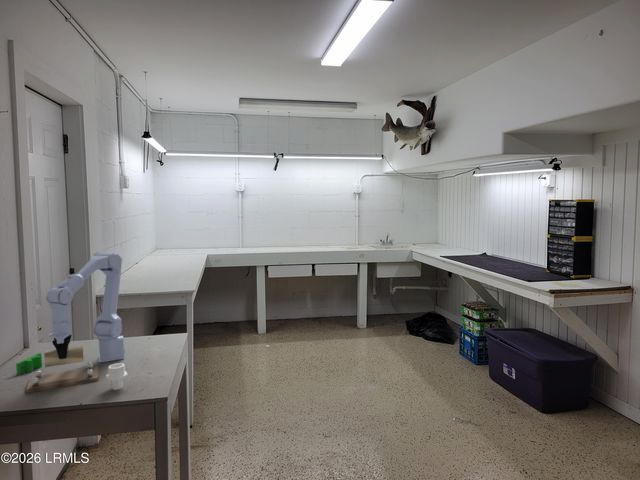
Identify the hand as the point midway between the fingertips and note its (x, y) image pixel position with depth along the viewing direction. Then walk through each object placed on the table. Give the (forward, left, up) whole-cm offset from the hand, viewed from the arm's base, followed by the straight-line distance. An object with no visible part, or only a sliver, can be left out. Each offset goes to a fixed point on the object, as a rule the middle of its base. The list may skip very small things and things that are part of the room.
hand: (63, 357), depth 159 cm
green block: (+12, -18, -9) cm, 23 cm away
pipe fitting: (-17, +17, -9) cm, 25 cm away
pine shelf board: (0, 0, -2) cm, 2 cm away
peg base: (0, +1, -8) cm, 8 cm away
